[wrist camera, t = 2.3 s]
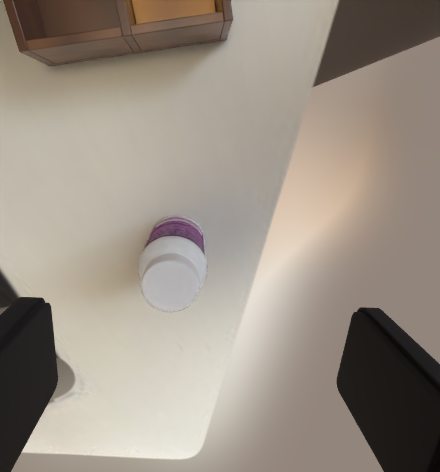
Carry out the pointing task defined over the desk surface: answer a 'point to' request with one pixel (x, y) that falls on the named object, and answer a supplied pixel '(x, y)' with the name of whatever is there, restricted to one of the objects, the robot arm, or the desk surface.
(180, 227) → the pill bottle
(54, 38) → the grid
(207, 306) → the desk surface
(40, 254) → the desk surface
